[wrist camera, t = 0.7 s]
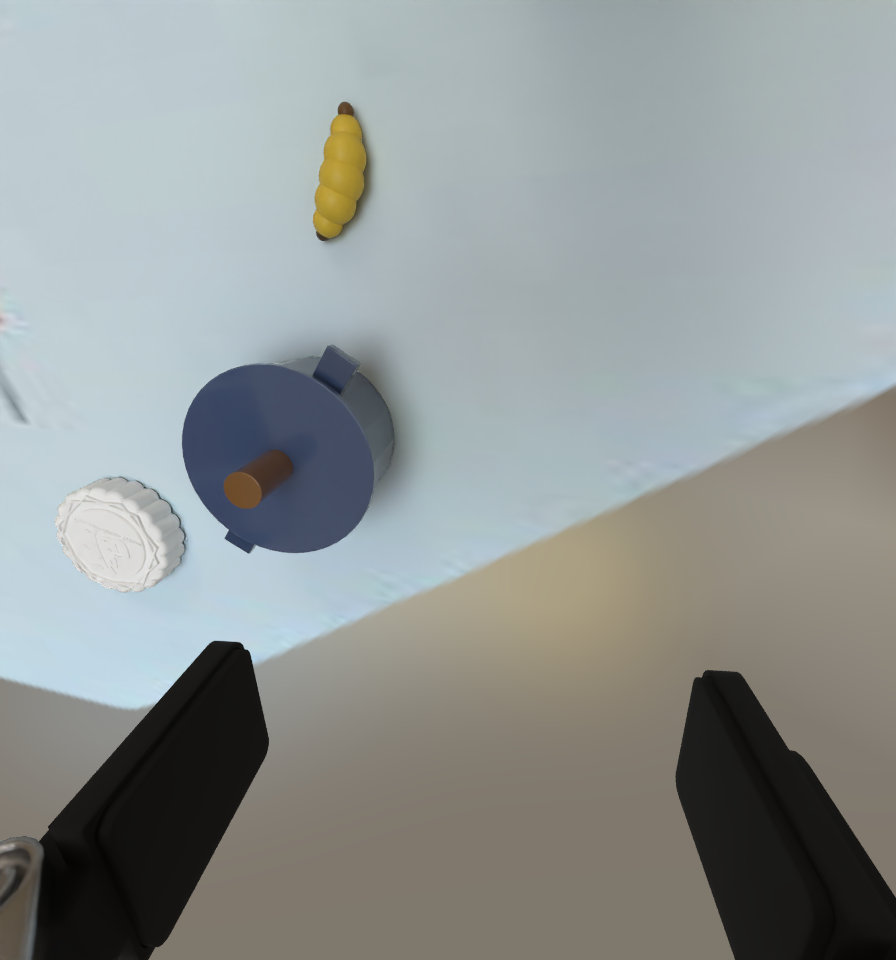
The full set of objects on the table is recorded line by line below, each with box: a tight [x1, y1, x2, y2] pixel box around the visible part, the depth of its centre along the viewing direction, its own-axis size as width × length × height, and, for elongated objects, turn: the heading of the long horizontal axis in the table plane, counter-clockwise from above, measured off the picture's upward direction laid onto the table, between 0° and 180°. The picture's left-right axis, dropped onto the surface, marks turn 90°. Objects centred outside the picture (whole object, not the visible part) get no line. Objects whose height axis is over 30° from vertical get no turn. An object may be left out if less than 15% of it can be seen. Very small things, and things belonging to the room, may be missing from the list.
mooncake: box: [55, 478, 185, 592], centre depth 48 cm, size 12×12×4 cm
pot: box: [225, 345, 394, 554], centre depth 39 cm, size 14×19×8 cm
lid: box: [182, 363, 376, 553], centre depth 33 cm, size 15×15×6 cm
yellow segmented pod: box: [313, 102, 367, 241], centre depth 34 cm, size 9×3×3 cm, turn 161°
